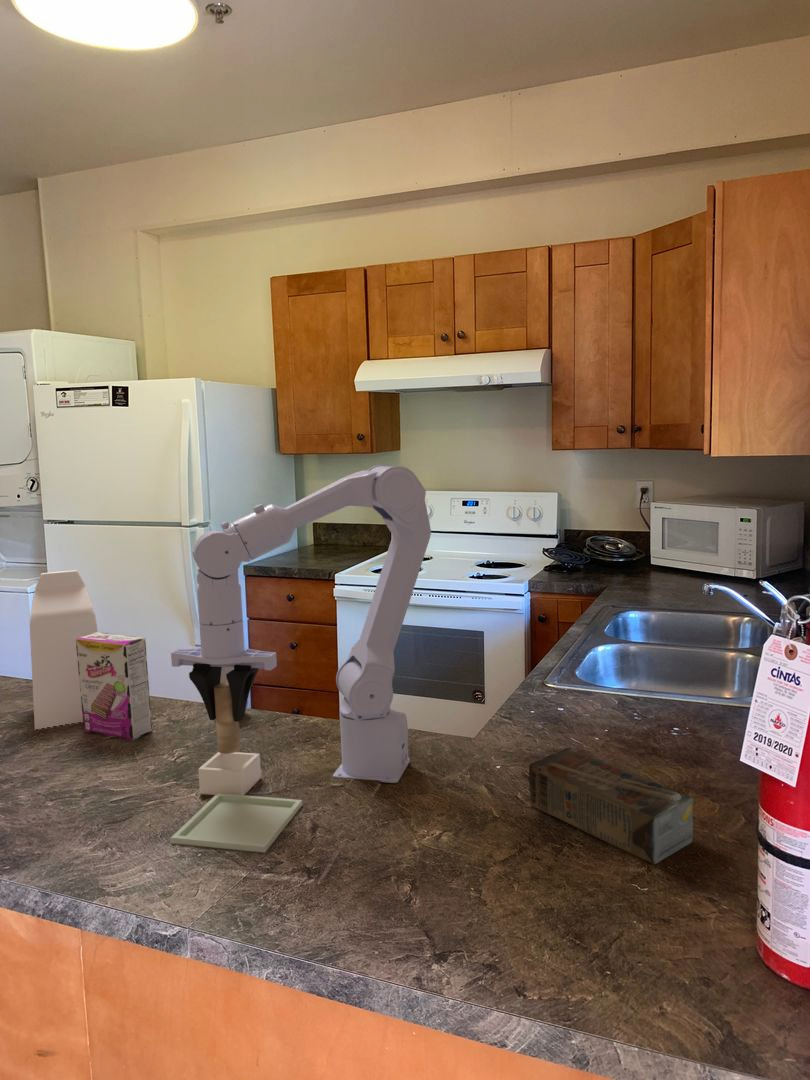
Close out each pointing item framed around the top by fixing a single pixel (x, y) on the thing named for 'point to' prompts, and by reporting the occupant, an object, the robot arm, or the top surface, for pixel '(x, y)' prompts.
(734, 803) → the top surface
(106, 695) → the candy bar box
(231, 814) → the tray
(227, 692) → the dowel
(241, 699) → the robot arm
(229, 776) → the open box
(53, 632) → the milk
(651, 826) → the beverage carton
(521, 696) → the top surface
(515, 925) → the top surface
